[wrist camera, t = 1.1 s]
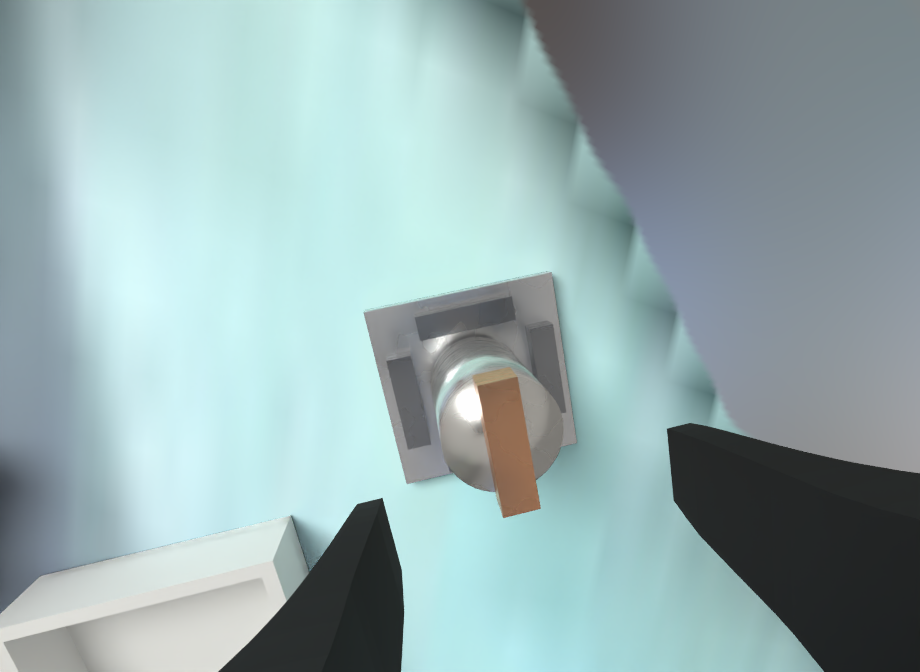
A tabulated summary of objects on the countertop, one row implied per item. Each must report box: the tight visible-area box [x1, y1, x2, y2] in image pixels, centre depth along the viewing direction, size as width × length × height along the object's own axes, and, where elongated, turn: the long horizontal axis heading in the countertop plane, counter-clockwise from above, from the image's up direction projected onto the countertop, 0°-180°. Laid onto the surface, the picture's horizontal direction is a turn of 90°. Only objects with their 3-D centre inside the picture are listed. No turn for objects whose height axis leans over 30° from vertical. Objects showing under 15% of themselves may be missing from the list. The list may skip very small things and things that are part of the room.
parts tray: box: [0, 515, 309, 672], centre depth 20 cm, size 11×11×3 cm
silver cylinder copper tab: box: [431, 337, 564, 518], centre depth 17 cm, size 4×4×6 cm
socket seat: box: [364, 271, 577, 484], centre depth 20 cm, size 8×8×1 cm
